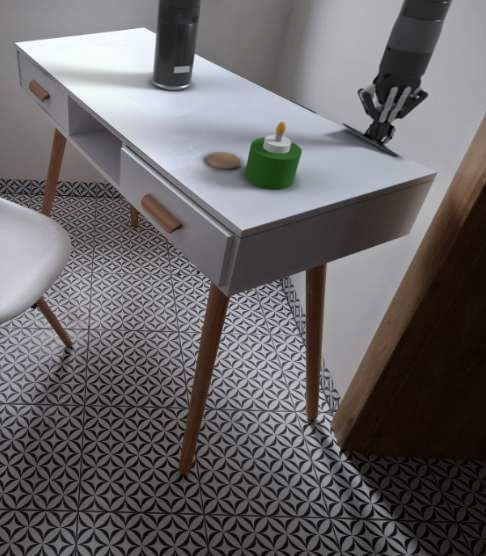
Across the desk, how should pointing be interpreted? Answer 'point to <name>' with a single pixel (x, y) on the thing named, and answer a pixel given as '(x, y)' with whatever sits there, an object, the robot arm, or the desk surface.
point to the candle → (273, 161)
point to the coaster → (223, 160)
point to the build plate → (369, 139)
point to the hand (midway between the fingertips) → (375, 138)
